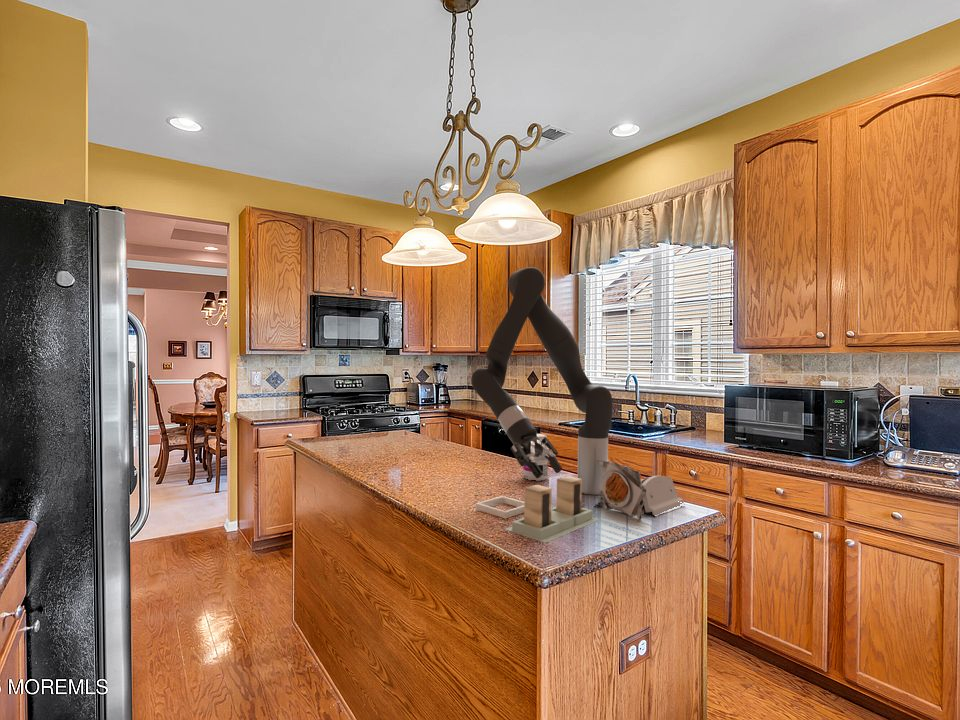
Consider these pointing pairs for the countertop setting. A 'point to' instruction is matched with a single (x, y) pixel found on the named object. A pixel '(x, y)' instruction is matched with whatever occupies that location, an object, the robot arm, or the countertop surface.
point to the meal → (621, 489)
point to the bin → (488, 504)
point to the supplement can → (540, 462)
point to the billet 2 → (569, 495)
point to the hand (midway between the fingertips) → (550, 473)
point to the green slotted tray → (554, 525)
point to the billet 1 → (537, 506)
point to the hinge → (659, 495)
